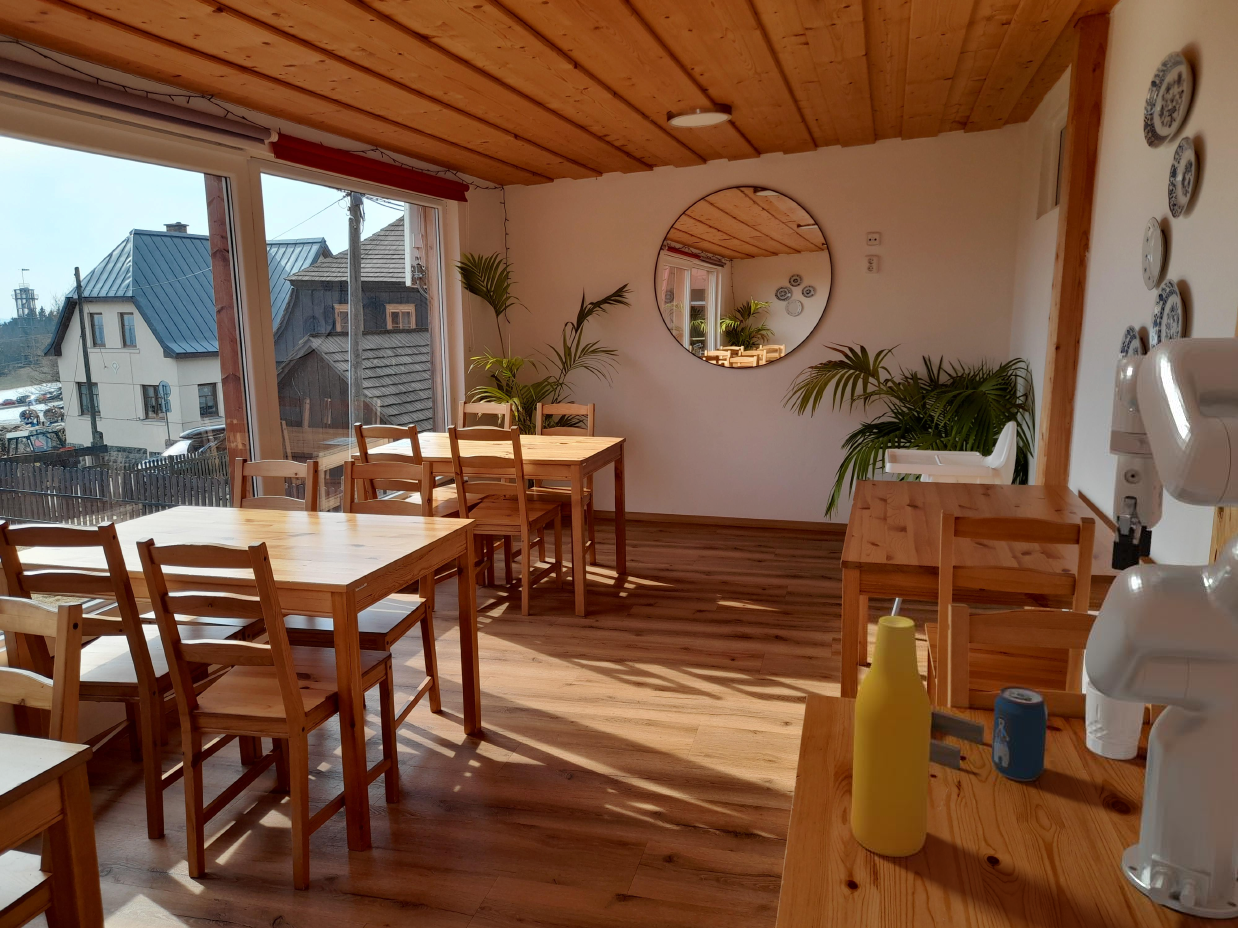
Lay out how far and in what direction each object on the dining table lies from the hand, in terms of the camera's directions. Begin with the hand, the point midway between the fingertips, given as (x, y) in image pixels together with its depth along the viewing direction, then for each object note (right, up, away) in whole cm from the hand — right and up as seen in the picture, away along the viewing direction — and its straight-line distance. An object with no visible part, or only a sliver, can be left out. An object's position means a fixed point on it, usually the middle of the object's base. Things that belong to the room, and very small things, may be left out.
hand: (1131, 562), depth 120 cm
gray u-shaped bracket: (-23, -30, +11) cm, 39 cm away
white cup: (+3, -30, +9) cm, 32 cm away
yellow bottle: (-39, -34, -12) cm, 53 cm away
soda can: (-15, -31, +4) cm, 35 cm away
